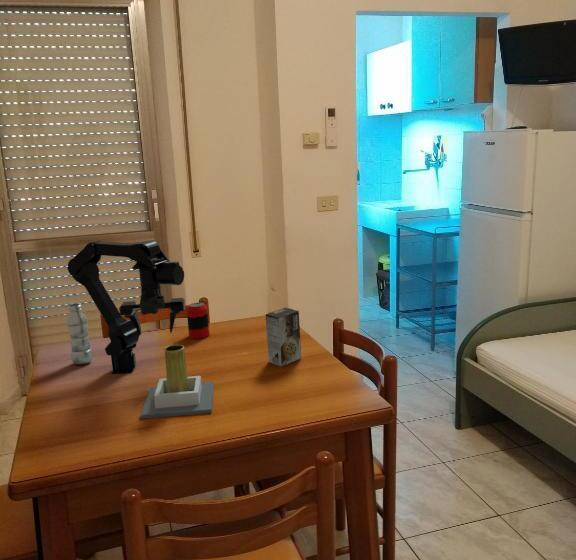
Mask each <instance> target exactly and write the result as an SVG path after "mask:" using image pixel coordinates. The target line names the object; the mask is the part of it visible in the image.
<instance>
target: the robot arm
mask: <svg viewBox="0 0 576 560" xmlns="http://www.w3.org/2000/svg"><path fill="white" fill-rule="evenodd" d="M102 256H106V257H107V256H108V257H120V258H127V259H130V260H131V261H133V262H135V264H134V265H133V266H132V267H131V269H133V270H138V274H139V282H140V301H139V303H137V302H136V301H135V300H132V301H129V300H128V301H123V302H122V303H121V305H120V306H119V309H118V307H117V306H116V304H115V303H114V301H113V299H112V298H111V296H110V294H109V293H108V291H107V289H106V287H105V286H104V285H103V283H102V281H101V279H100V268H99V267H98V266H99V265H98V263H99V262H100V261H101V259H102ZM66 268H67V271H68V273H69V274H70V276H71V278H73V280H74V281H75V282H77V283H79V284H80V285H82V286H84V288H85V290H86V291H87V293H88V295H89V296H90V298H91V300H92V302H93V303H94V305H95V306H96V308H97V310H98V312H99V313H100V315H101V316H102V318H103V320H104V321H105V323H106V324H107V329H108V330H107V331H108V333H107V334H108V338H109V340H110V342H109V343H108V344H107V346H106V347H105V348H104V351H105V353H106V356H110V359H111V367H112V370H111V374H113V375H115V374H125V373H126V374H128V373H133V372H134V369H135V368H136V366H137V360H136V354H135V353H134V348H136V347H137V343H138V342H139V338H140V336H141V335H142V327H141V321H140V316H139V315H140V314H139V311H140V313H141V315H144V316H145V315H149V314H150V315H151V314H152V315H156V314H158V312H159V310H161V309H163V310H164V309H170V312H169V332H170V334H172V333H173V328H174V325H175V320H176V317H177V315H180V313H181V312H183V311H185V310H186V309H185V308H186V299H185V298H184V297H176V298H175V297H174V298H171V299H170V301H165V297H164V295H162V286H161V285H168V286H171V285H172V286H180V285H182V283H183V282H184V279H185V271H184V268H183V267H182V266H181V265H180V262H179V261H178V260H177V261H170V260H169V259H168V257H167V256H166V254H165V253H164V252H163V251H162V249H161V247H160V246H159V244H158V242H157V241H155V240H152V239H151V240H145V241H138V242H134V243H133V242H132V243H129V242H118V241H117V242H115V241H102V240H95V241H91V242H88V243H87V244H85V247H84V248H83V249H82V250H81V251H79V252H77V253H76V254H75V255H74V257H73V258H71V259H69V260H68V263H67V267H66ZM123 316H124V317H123ZM125 318H126V319H125ZM127 318H128V319H129V320H127Z"/></svg>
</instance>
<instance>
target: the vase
mask: <svg viewBox="0 0 576 560" xmlns="http://www.w3.org/2000/svg"><path fill="white" fill-rule="evenodd" d="M163 350H164V359H165V361H164V362H165V372H166V378H167V392H168V393H175V392H187V391H189V384H188V378H187V377H188V373H187V372H188V371H187V365H186V364H187V363H186V351H185V346H184V345H182V344H171V345H167V346H165V347H164V349H163Z"/></svg>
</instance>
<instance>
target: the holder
mask: <svg viewBox="0 0 576 560" xmlns="http://www.w3.org/2000/svg"><path fill="white" fill-rule="evenodd" d="M187 378H188V384H189V391H187V392H175V393H168V392H167V377H165V378H159V380H158V383H157V386H156V385H155V386H150V388H149V390H148V394H147V396H146V399H145V401H144V405H143V407H142V409H141V414H140V419H141V420H144V419H153V418H155V419H156V418H166V417H177V416H180V417H181V416H189V415H190V416H191V415H201V414H202V415H203V414H212V413H213V403H214V391H215V381H207V382H206V381H205V382H202V377H201V375H195V376H194V375H193V376H187Z"/></svg>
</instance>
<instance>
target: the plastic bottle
mask: <svg viewBox="0 0 576 560" xmlns="http://www.w3.org/2000/svg"><path fill="white" fill-rule="evenodd" d="M82 310H83V308H82V304H81V303H72V304H69V305H68V311H69V314H68V316H67V317H66V320H65V323H66V327H67V330H68V334H69V339H70V348H71V349H70V350H71V352H70V357H71V358H70V359H71V362H72V363H73V364H75V365H85V364H86V365H87V364H89V363H91V362H92V360H93V359H94V358H93V351H92V349H91V344H90V340H89V333H88V326H89V325H88V324H89V323H88V318H87V316H86V314H85V313H84V312H82Z"/></svg>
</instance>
